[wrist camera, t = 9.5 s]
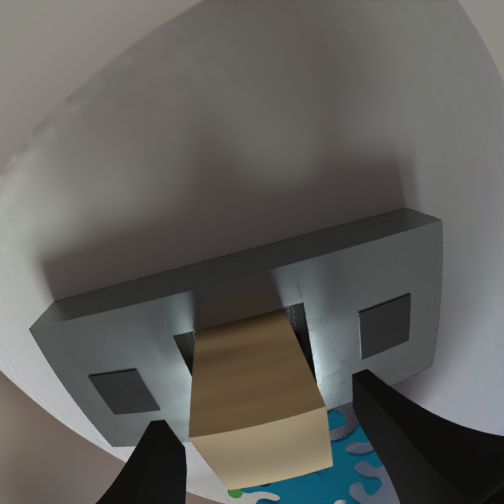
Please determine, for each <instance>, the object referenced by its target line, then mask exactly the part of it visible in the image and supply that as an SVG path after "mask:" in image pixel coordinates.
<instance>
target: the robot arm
mask: <svg viewBox="0 0 504 504" xmlns="http://www.w3.org/2000/svg"><path fill="white" fill-rule="evenodd" d="M352 392H353V409H354V411H355V414H356V416H357V418H358V421H359V423H360V425H361V428H362V430H363V431H364V433H365V435H366V437H367V438H368V440H369V441H368V442H366V443H359V442H351V443H349V444H348V445H347V447H346V451H348V452H351V453H357V454H360V453H366V452H369V451H371V450H373V449H374V450H375V452H376V454H377V455H378V457H379V459H380V460H381V462H382V464H383V465H382V466H381V467H378V468H374V467H372V466H370V465H369V464H368V463H367V462H364V461H362V462H359V463H357V464H356V465H355V467H354V469H355V470H356V471H357V472H358V473H360V474H361V475H364V476H368V477H374V476H375V477H378V478H380V480H381V482H382V483H383V484H382V486H381V487H380V489H379V490H378V491H377V492H376V493H375V494H374V495H368V494H366V493H365V490H364V488H363V484H362V483H354V484H352V485H351V486H350V488H349V492H350V494H351V496H352V497H353V498H354V499H355V500H357V501H359V502H360V503H361V504H504V436H500V435H494V434H489V433H485V432H481V431H478V430H474V429H471V428H467V427H464V426H461V425H458V424H456V423H453V422H451V421H448V420H446V419H444V418H442V417H440V416H437V415H435V414H433V413H432V412H430V411H428V410H426V409H424V408H422V407H421V406H419V405H417V404H416V403H414V402H412V401H411V400H409V399H408V398H406V397H405V396H403V395H402V394H400V393H399V392H397V391H396V390H395V389H393V388H392V387H390V386H389V385H388V384H386V383H385V382H384V381H382V380H381V379H380V378H379V377H377V376H376V375H375V374H374V373H372V372H371V371H370V370H368V369H364V370H362V371H359V372H357V373H354V374H352ZM186 477H187V465H186V453H185V447H184V446H183V444H182V443H181V442H180V440H179V439H178V437H177V436H176V435H175V433H174V432H173V430H172V429H171V428H170V426H169V425H168V423H167V422H166V420H165V419H164V420H155V421H151V422H150V423H149V425H148V427H147V428H146V430H145V432H144V434H143V435H142V437H141V439H140V441H139V442H138V444H137V446H136V448H135V449H134V451H133V453H132V454H131V456H130V458H129V459H128V461H127V463H126V464H125V466H124V468H123V469H122V471H121V472H120V474H119V475H118V476H117V478H116V479H115V481H114V482H113V484H112V485H111V486H110V488H109V489H108V490H107V491H106V493H105V494H104V495H103V496H102V497H101V498H100V500H99V501H98V502H97V503H96V504H185V498H186ZM342 503H343V504H345V503H346V501H345V500H342Z"/></svg>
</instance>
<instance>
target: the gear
mask: <svg viewBox="0 0 504 504" xmlns="http://www.w3.org/2000/svg"><path fill="white" fill-rule="evenodd" d="M327 417H328V425H329V431H330V430H333V429H336V428H339V427H341V426H342V425H343V424H344V423H345V417H344V416H343V415H342V414H340V413H339V412H337V411H334V410H330V411H329V412H328V413H327ZM368 441H369V440H368V438H367V437H366V435H365V433H364V431H363V430H362V428H361V425H360V424H359V425H358V426H356V427H355V429H354V430H353V431H352V432H351V433H350V434H349V435H347V436H346V437H344V438H341V439H338V440H334V441H331V440H330V442H331V451H332V461H333V466H331V467H328V468H325V469H322V470H318V471H315V472H312V473H308V474H305V475H301V476H297V477H293V478H289V479H285V480H281V481H277V482H272V483H268V484H263V485H258V486H252V487H246V488H240V489H234V490H228V494H229V495H230V496H231V497H233V498H239V497H241V496H242V494H243V493H244V492H245V493H253V492H258V491H264V492H270V493H273V494H276V495H278V496H279V497H280V500H278V501H272V500H269V499H260V500H258V501H257V503H256V504H334V502H335V501H337V500H345V501H346V503H345V504H361V503H360V502H359V501H357V500H355V499H354V498H353V497H352V496H351V494H350V492H349V488H350V486H351V485H352V484H354V483H362V484H363V488H364V490H365V493H366V494H368V495H374V494H375V493H376V492H377V491H378V490H379V489H380V487H381V486H382V484H383V483H382V482H381V480H380V478H378V477H375V476H374V477H368V476H364V475H361V474H360V473H358V472H357V471H356V470H355V469H354V467H355V465H356V464H357V463H359V462H362V461H364V462H367V463H368V464H369V465H370V466H372V467H374V468H378V467H381V466H382V465H383V464H382V462H381V460H380V459H379V457H378V455H377V454H376V452H375V450H374V449H373V450H371V451H369V452H366V453H360V454H357V453H351V452H348V451H346V447H347V445H348V444H349V443H351V442H359V443H366V442H368Z"/></svg>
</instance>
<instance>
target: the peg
mask: <svg viewBox="0 0 504 504" xmlns="http://www.w3.org/2000/svg"><path fill="white" fill-rule="evenodd" d="M189 439H190V441H191V442H192V444H193V445H194V446H195V448H196V449H197V450H198V452H199V453H200V454H201V456H202V457H203V458H204V460H205V461H206V462H207V464H208V465H209V466H210V467H211V469H212V470H213V471H214V472H215V474H216V475H217V476H218V477H219V479H220V480H221V481H222V482H223V483H224V485H225V486H226V487H227V488H228V489H229V490H234V489H240V488H246V487H252V486H258V485H263V484H268V483H272V482H277V481H281V480H285V479H289V478H293V477H297V476H301V475H305V474H308V473H312V472H315V471H318V470H322V469H325V468H328V467H331V466H333V461H332V451H331V442H330V433H329V425H328V417H327V409H326V405H325V402H324V400H323V398H322V395H321V393H320V391H319V388H318V386H317V384H316V382H315V379H314V377H313V375H312V372H311V370H310V368H309V365H308V363H307V361H306V359H305V356H304V354H303V352H302V349H301V347H300V345H299V343H298V340H297V338H296V336H295V333H294V331H293V329H292V327H291V324H290V322H289V320H288V317H287V315H286V313H285V311H284V308H281V309H278V310H274V311H271V312H267V313H263V314H260V315H256V316H252V317H248V318H244V319H241V320H237V321H233V322H229V323H225V324H221V325H217V326H213V327H208V328H204V329H200V330H196V334H195V346H194V358H193V371H192V384H191V400H190V417H189Z"/></svg>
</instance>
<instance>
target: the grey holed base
mask: <svg viewBox="0 0 504 504" xmlns="http://www.w3.org/2000/svg"><path fill="white" fill-rule="evenodd" d="M442 261H443V233H442V220H441V219H438V218H435V217H433V216H430V215H427V214H424V213H421V212H418V211H415V210H412V209H409V208H405V209H401V210H397V211H393V212H389V213H385V214H382V215H378V216H374V217H370V218H366V219H363V220H359V221H355V222H351V223H347V224H343V225H340V226H336V227H332V228H328V229H325V230H321V231H317V232H313V233H309V234H306V235H302V236H298V237H294V238H290V239H287V240H283V241H279V242H275V243H272V244H268V245H264V246H260V247H256V248H253V249H249V250H245V251H241V252H238V253H234V254H230V255H226V256H223V257H219V258H215V259H211V260H208V261H204V262H200V263H196V264H193V265H189V266H185V267H181V268H178V269H174V270H170V271H167V272H163V273H159V274H155V275H152V276H148V277H144V278H140V279H137V280H133V281H129V282H126V283H122V284H118V285H115V286H111V287H107V288H103V289H100V290H96V291H92V292H89V293H85V294H81V295H78V296H74V297H70V298H66V299H63V300H59V301H55V302H53V303H52V304H51V306H50V307H49V308H48V309H47V310H46V311H45V312H44V313H43V314H42V315H41V316H40V317H39V318H38V320H37V321H36V322H35V323H34V324H33V325H32V326H31V327H30V328H29V330H30V332H31V334H32V335H33V337H34V339H35V341H36V343H37V344H38V346H39V348H40V350H41V351H42V353H43V355H44V356H45V358H46V359H47V361H48V363H49V364H50V366H51V367H52V369H53V371H54V372H55V374H56V375H57V377H58V378H59V380H60V381H61V383H62V384H63V385H64V387H65V388H66V390H67V391H68V393H69V394H70V395H71V397H72V398H73V399H74V401H75V402H76V404H77V405H78V406H79V407H80V409H81V410H82V411H83V413H84V414H85V415H86V416H87V418H88V419H89V420H90V421H91V423H92V424H93V425H94V426H95V427H96V429H97V430H98V431H99V432H100V433H101V434H102V436H103V437H104V438H105V439H106V440H107V441H108V442H109V444H110V445H111V446H112V447H124V446H137V444H138V442H139V441H140V439H141V437H142V435H143V434H144V432H145V430H146V428H147V427H148V425H149V423H150V422H151V421H155V420H164V419H165V420H166V422H167V423H168V425H169V426H170V428H171V429H172V430H173V432H174V433H175V435H176V436H177V437H178V439H179V440H180V442H190V439H189V417H190V400H191V384H192V371H193V358H194V346H195V340H194V337H193V335H192V332H191V331H196V330H200V329H204V328H208V327H213V326H217V325H221V324H225V323H229V322H233V321H237V320H241V319H244V318H248V317H252V316H256V315H260V314H263V313H267V312H271V311H274V310H278V309H281V308H285V307H288V306H292V305H294V310H295V315H296V320H297V325H298V330H299V336H300V341H301V346H302V351H303V354H304V356H305V359H306V361H307V363H308V365H309V368H310V370H311V372H312V375H313V377H314V379H315V382H316V384H317V386H318V388H319V391H320V393H321V395H322V398H323V400H324V402H325V405H326V409H327V410H329V409H332V408H335V407H338V406H341V405H344V404H346V403H349V402H352V401H353V392H352V374H354V373H357V372H359V371H362V370H364V369H368V370H370V371H371V372H372V373H374V374H375V375H376V376H377V377H379V378H380V379H381V380H382V381H384V382H385V383H386V384H388V385H389V386H391V385H393V384H396V383H398V382H400V381H402V380H404V379H406V378H409V377H411V376H413V375H415V374H417V373H419V372H421V371H423V370H425V369H427V368H429V367H431V366H432V363H433V357H434V351H435V345H436V337H437V330H438V321H439V312H440V301H441V286H442Z"/></svg>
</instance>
